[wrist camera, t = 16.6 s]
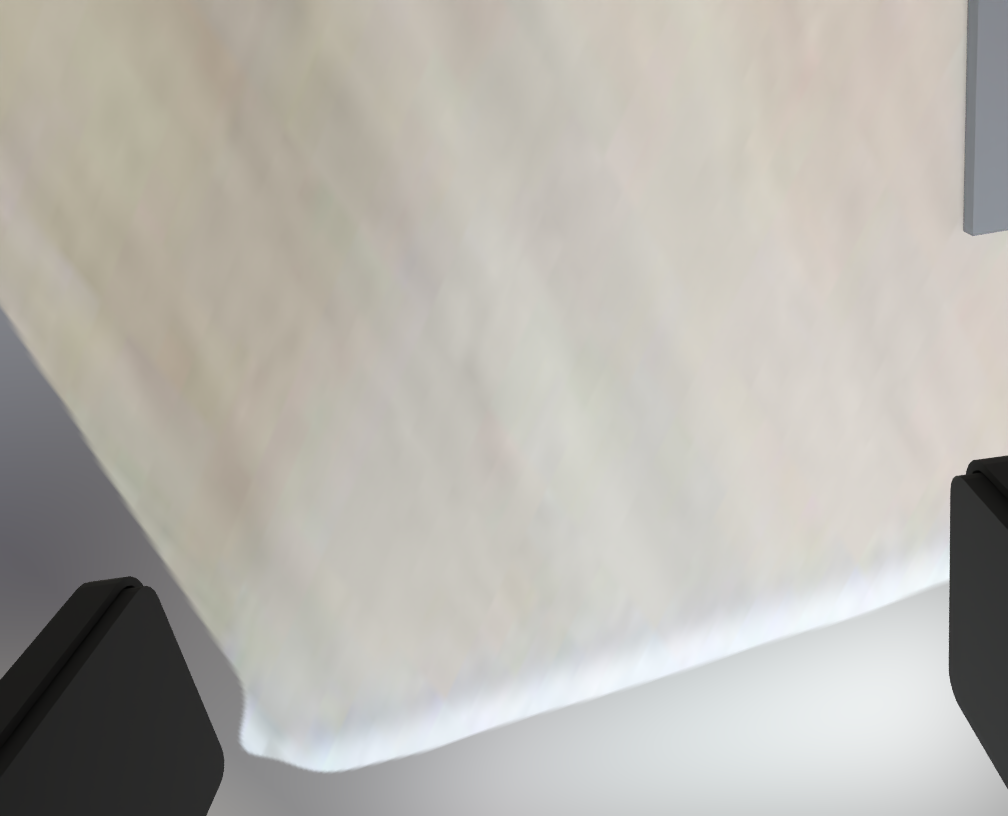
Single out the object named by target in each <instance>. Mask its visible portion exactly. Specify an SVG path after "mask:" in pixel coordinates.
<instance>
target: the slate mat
mask: <svg viewBox="0 0 1008 816" xmlns="http://www.w3.org/2000/svg"><path fill="white" fill-rule="evenodd" d="M1006 230H1008V0H968V32H967V82H966V132H965V182H964V232H966V233H968V234H970V235H972V236H976V235H982V234H988V233H994V232H1000V231H1006Z"/></svg>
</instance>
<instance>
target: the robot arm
mask: <svg viewBox="0 0 1008 816" xmlns="http://www.w3.org/2000/svg"><path fill="white" fill-rule="evenodd" d="M949 601H950V603H949V676H950V682H951V686H952V690H953V693H954V695H955V698H956V701H957V703H958V705H959V707H960V708H961V710H962V712H963V714H964V715H965V717H966V718H967V720H968V722H969V724H970V725H971V727H972V729H973V730H974V732H975V734H976V736H977V737H978V739H979V741H980V743H981V744H982V746H983V747H984V749H985V751H986V753H987V754H988V756H989V758H990V760H991V761H992V763H993V764H994V766H995V768H996V770H997V771H998V773H999V775H1000V776H1001V778H1002V780H1003V782H1004V783H1005V785H1006V787H1007V788H1008V456H1001V457H994V458H987V459H979V460H973V461H972V462H971V463H970V464H969V465H968V468H967V471H966V475H960V476H955V477H954V478H953V480H952V483H951V494H950V597H949ZM223 772H224V756H223V751H222V748H221V745H220V743H219V741H218V738H217V736H216V734H215V731H214V729H213V726H212V724H211V722H210V720H209V717H208V714H207V712H206V710H205V707H204V705H203V702H202V700H201V698H200V695H199V693H198V691H197V688H196V686H195V684H194V681H193V679H192V676H191V674H190V672H189V669H188V667H187V664H186V662H185V660H184V657H183V655H182V653H181V650H180V648H179V645H178V643H177V641H176V638H175V636H174V634H173V631H172V629H171V627H170V624H169V622H168V619H167V617H166V615H165V612H164V610H163V608H162V605H161V603H160V600H159V598H158V596H157V594H156V592H155V591H154V590H153V589H152V588H151V587H148V586H143V585H142V583H141V582H140V581H139V580H138V579H136V578H134V577H131V576H130V577H123V578H115V579H108V580H100V581H93V582H88V583H84V584H83V585H81V586H80V587H79V588H78V589H77V590H76V591H75V592H74V593H73V595H72V596H71V597H70V598H69V600H68V601H67V602H66V603H65V604H64V606H62V608H61V609H60V610H59V611H58V612H57V614H56V615H55V616H54V617H53V618H52V619H51V621H50V622H49V623H48V624H47V626H46V627H45V628H44V629H43V630H42V632H40V634H39V635H38V636H37V637H36V639H35V640H34V641H33V642H32V643H31V645H30V646H29V647H28V648H27V649H26V650H25V651H24V653H23V654H22V655H21V656H20V657H19V659H18V660H17V661H16V662H15V663H14V665H13V666H12V667H11V668H10V669H9V670H8V672H7V673H6V674H5V675H4V676H3V678H2V679H1V680H0V816H206V815H207V813H208V810H209V808H210V806H211V804H212V801H213V799H214V797H215V795H216V792H217V790H218V788H219V786H220V783H221V780H222V777H223Z"/></svg>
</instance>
